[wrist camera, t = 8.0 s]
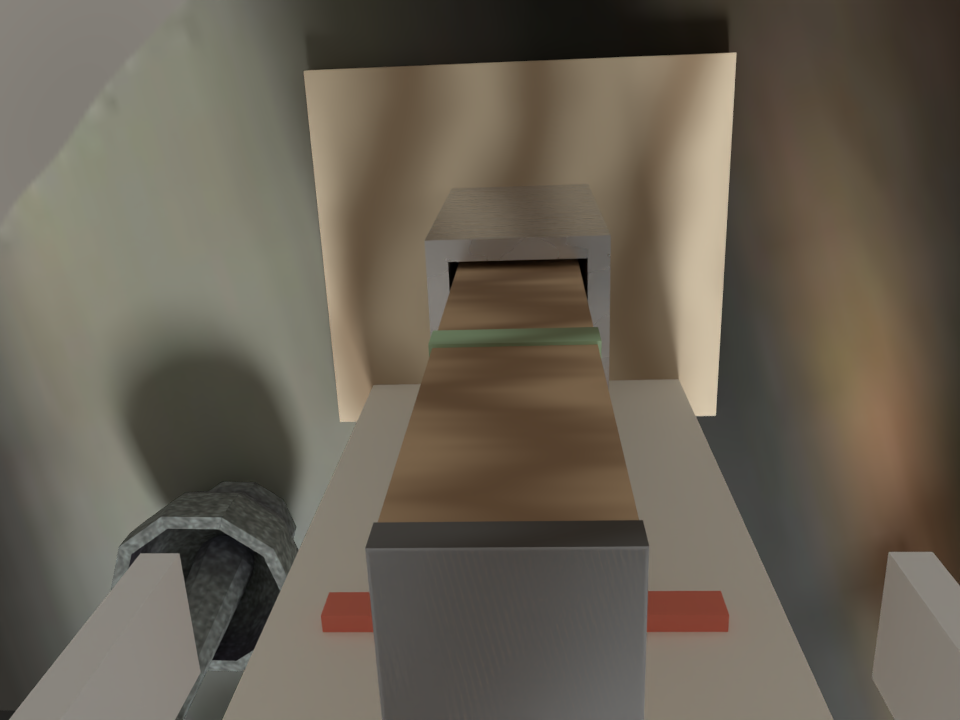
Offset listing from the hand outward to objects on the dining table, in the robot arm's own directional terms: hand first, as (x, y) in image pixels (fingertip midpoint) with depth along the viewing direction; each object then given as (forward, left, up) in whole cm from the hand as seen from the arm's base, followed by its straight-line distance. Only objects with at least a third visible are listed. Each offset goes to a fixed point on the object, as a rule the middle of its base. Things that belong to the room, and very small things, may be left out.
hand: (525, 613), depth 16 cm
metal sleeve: (0, 0, -29) cm, 29 cm away
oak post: (0, 0, -22) cm, 22 cm away
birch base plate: (0, 0, -30) cm, 30 cm away
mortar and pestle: (+17, +17, -30) cm, 39 cm away
